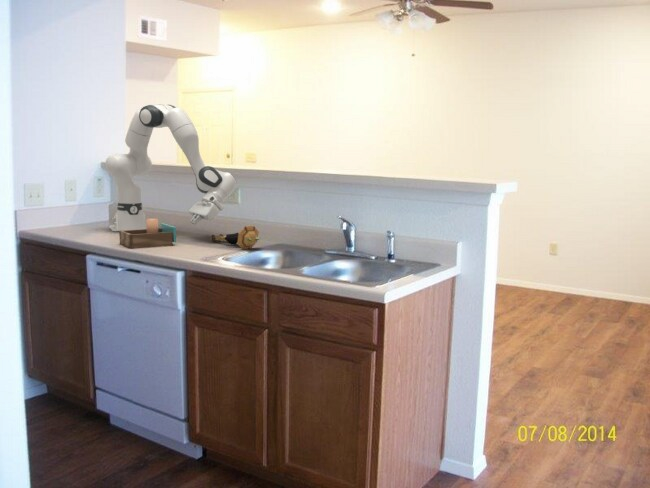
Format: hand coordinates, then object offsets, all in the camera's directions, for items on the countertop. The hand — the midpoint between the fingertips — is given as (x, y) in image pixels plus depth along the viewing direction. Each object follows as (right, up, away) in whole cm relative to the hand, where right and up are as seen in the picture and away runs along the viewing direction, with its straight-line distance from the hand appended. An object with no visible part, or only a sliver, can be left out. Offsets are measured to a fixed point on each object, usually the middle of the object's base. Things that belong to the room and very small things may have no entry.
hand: (192, 223), depth 290 cm
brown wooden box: (-17, -10, -11) cm, 23 cm away
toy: (+21, -11, -8) cm, 25 cm away
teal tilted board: (-17, -8, -11) cm, 22 cm away
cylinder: (-16, -7, -10) cm, 20 cm away
